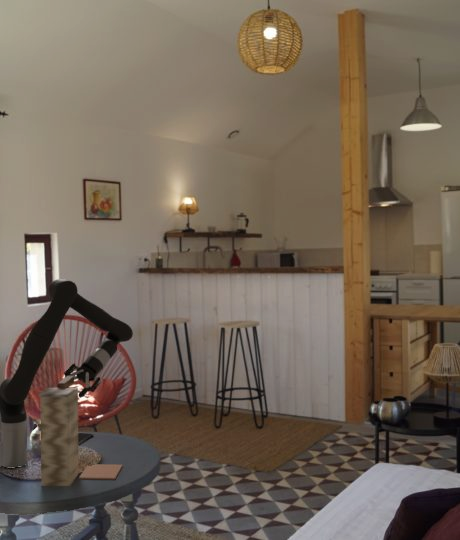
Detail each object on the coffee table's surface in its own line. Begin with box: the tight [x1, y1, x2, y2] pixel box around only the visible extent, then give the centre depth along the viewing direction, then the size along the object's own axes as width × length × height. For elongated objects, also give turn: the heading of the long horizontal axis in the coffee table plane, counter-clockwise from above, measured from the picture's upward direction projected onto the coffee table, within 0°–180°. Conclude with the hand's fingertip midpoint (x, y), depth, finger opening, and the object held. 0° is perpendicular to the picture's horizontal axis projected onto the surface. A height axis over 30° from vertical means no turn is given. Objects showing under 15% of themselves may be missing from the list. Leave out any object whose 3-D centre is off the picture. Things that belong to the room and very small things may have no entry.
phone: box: [78, 432, 94, 446], centre depth 283 cm, size 8×1×15 cm
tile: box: [78, 463, 123, 480], centre depth 244 cm, size 13×14×1 cm
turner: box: [38, 376, 76, 398], centre depth 238 cm, size 10×23×2 cm, turn 178°
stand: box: [39, 387, 80, 487], centre depth 235 cm, size 10×12×32 cm
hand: (70, 391), depth 255 cm, fingers open, 8 cm apart
